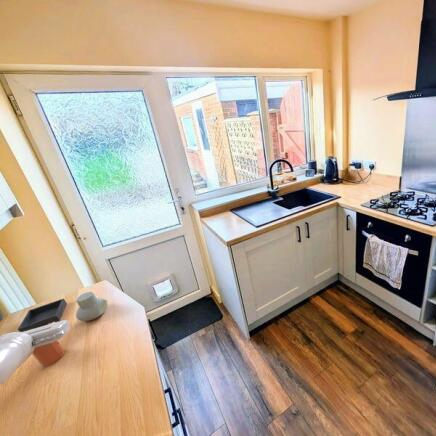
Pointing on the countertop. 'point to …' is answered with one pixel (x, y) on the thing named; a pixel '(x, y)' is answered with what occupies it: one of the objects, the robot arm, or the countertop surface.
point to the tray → (43, 315)
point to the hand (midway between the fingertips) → (32, 330)
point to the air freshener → (90, 306)
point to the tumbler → (48, 353)
